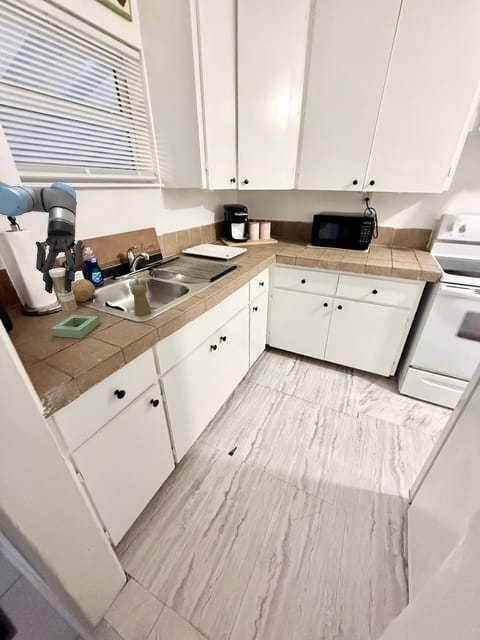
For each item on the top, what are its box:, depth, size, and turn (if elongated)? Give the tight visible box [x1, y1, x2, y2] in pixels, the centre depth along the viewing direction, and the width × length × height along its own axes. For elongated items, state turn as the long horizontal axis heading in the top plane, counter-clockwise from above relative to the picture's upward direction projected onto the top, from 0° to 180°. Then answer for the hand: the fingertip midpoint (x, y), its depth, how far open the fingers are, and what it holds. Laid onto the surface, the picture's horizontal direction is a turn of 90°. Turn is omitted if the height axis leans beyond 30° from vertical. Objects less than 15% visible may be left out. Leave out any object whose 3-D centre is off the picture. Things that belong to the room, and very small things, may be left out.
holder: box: [51, 314, 101, 339], centre depth 89 cm, size 10×10×3 cm
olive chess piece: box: [130, 284, 152, 317], centre depth 99 cm, size 6×6×11 cm
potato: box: [71, 278, 96, 303], centre depth 111 cm, size 10×14×8 cm
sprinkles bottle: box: [49, 267, 78, 312], centre depth 83 cm, size 5×5×13 cm
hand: (58, 291), depth 79 cm, fingers closed on sprinkles bottle, 5 cm apart
